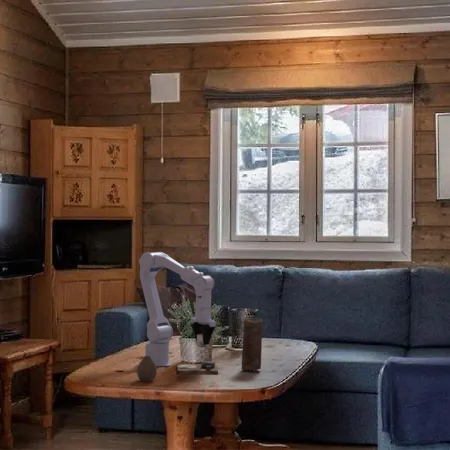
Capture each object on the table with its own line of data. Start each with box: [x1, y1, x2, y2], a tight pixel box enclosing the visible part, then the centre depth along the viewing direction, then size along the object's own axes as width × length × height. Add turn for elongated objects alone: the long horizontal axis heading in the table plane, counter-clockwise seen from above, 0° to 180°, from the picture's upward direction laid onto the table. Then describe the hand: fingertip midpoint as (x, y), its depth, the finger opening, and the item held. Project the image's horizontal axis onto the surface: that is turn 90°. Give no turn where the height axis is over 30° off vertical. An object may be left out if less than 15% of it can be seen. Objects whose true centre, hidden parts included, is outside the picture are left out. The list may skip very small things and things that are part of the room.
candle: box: [241, 317, 264, 372], centre depth 343 cm, size 8×7×20 cm
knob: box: [196, 333, 210, 348], centre depth 342 cm, size 5×5×5 cm
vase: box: [136, 355, 158, 383], centre depth 320 cm, size 7×7×9 cm
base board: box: [177, 360, 219, 375], centre depth 342 cm, size 15×14×3 cm
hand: (202, 343), depth 342 cm, fingers closed on knob, 5 cm apart
